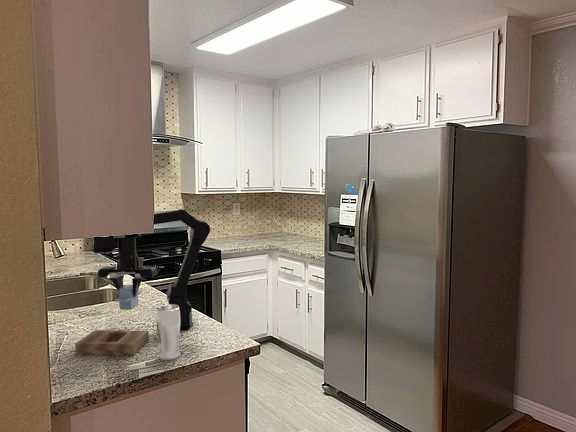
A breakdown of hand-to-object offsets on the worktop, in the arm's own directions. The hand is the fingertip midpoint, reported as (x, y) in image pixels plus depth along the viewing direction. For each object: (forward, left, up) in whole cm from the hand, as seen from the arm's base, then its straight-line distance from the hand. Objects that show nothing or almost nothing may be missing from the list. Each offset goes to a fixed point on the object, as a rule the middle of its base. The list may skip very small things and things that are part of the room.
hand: (128, 296), depth 149 cm
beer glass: (-20, +19, -13) cm, 30 cm away
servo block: (0, 0, -4) cm, 4 cm away
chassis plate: (0, +13, -13) cm, 18 cm away
